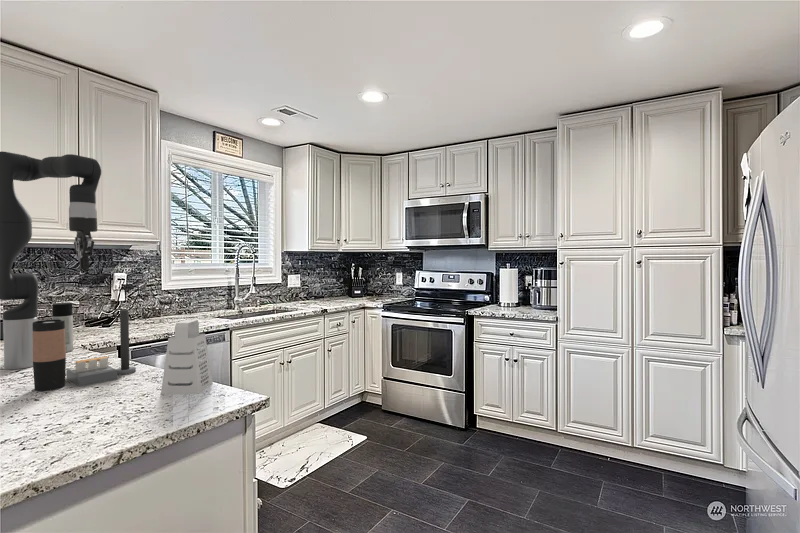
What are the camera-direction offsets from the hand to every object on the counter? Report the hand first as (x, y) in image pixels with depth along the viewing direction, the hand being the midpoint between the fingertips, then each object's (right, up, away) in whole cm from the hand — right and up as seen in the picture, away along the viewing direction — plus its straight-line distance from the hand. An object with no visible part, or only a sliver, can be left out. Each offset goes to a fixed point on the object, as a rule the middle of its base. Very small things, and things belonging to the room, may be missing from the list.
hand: (84, 269), depth 142 cm
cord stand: (+12, -35, +3) cm, 37 cm away
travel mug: (0, -36, -14) cm, 38 cm away
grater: (+41, -36, -14) cm, 57 cm away
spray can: (-34, -34, +35) cm, 60 cm away
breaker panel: (+6, -35, -4) cm, 36 cm away
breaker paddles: (+6, -32, -4) cm, 33 cm away
